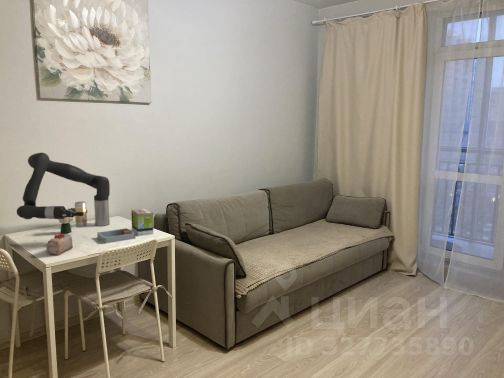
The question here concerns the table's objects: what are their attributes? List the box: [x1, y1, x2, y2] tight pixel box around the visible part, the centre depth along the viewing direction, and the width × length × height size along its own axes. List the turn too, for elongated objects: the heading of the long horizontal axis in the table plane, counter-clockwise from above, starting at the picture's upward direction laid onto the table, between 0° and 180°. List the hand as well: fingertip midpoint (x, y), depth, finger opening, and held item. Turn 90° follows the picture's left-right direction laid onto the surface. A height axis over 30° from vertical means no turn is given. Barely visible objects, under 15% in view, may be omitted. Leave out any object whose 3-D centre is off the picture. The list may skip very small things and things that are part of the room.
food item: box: [45, 233, 73, 256], centre depth 222 cm, size 14×8×10 cm, turn 171°
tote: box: [97, 227, 136, 244], centre depth 246 cm, size 14×18×4 cm
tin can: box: [74, 201, 88, 228], centre depth 238 cm, size 6×6×14 cm
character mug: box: [57, 217, 74, 234], centre depth 258 cm, size 11×7×13 cm, turn 79°
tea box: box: [130, 208, 154, 237], centre depth 259 cm, size 15×10×15 cm
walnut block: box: [121, 228, 132, 235], centre depth 250 cm, size 6×4×4 cm, turn 37°
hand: (85, 212), depth 238 cm, fingers closed on tin can, 6 cm apart
